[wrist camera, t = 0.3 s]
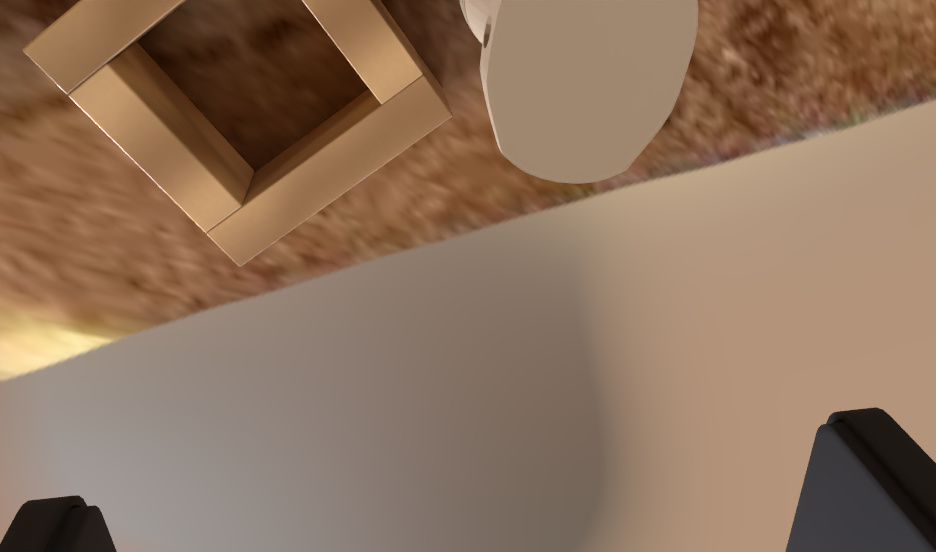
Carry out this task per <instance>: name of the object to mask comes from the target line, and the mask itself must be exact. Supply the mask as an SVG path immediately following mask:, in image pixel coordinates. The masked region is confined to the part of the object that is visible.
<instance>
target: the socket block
mask: <svg viewBox="0 0 936 552" xmlns="http://www.w3.org/2000/svg"><path fill="white" fill-rule="evenodd" d="M186 1H187V0H80V1H79V2H77V3H76V4H75V5H74V6H73V7H71V8H70V9H69V10H68V11H67V12H65V13H64V14H63V15H62V16H61V17H60V18H58V19H57V20H56V21H55V22H54V23H52V24H51V25H50V26H49V27H48V28H46V29H45V30H44V31H43V32H42V33H40V34H39V35H38V36H37V37H36V38H35V39H33V40H32V41H31V42H30V43H29V44H27V45H26V46H25V47H24V48H23V51H24V52H25V53H26V54H27V55H28V56H29V57H30V58H31V59H32V60H33V61H34V62H35V63H36V64H37V65H38V66H39V67H40V68H41V69H42V70H43V71H44V72H45V73H46V74H47V75H48V76H49V77H50V78H51V79H52V80H53V81H54V82H55V83H56V84H57V85H58V86H59V87H60V88H61V89H62V90H63V91H64V92H65V93H66V94H69V97H70V98H71V99H72V100H73V101H74V102H75V103H76V104H77V105H78V106H79V107H80V108H81V109H82V110H83V111H84V112H85V113H86V114H87V115H88V116H89V117H90V118H91V119H92V120H93V121H94V122H95V123H96V124H97V125H98V126H99V127H100V128H101V129H102V130H103V131H104V132H105V133H106V134H107V135H108V136H109V137H110V138H111V139H112V140H113V141H114V142H115V143H116V144H117V145H118V146H119V147H120V148H121V149H122V150H123V151H124V152H125V153H126V154H127V155H128V156H129V157H130V158H131V159H132V160H133V161H134V162H135V163H136V164H137V165H138V166H139V167H140V168H141V169H142V170H143V171H144V172H145V173H146V174H147V175H148V176H149V177H150V178H151V179H152V180H153V181H154V182H155V183H156V184H157V185H158V186H159V187H160V188H161V189H162V190H163V191H164V192H165V193H166V194H167V195H168V196H169V197H170V198H171V199H172V200H173V201H174V202H175V203H176V204H177V205H178V206H179V207H180V208H181V209H182V210H183V211H184V212H185V213H186V214H187V215H188V216H189V217H190V218H191V219H192V220H193V221H194V222H195V223H196V224H197V225H198V226H199V227H200V228H201V229H202V230H203V231H204V232H207V233H206V234H207V235H208V236H209V237H210V238H211V239H212V240H213V241H214V242H215V243H216V244H217V245H218V246H219V247H220V248H221V249H222V250H223V251H224V252H225V253H226V254H227V255H228V256H229V257H230V258H231V259H232V260H233V261H234V262H235V263H236V264H237V265H238V266H239V267H241V266H242V265H244V264H245V263H246V262H248V261H249V260H251V259H252V258H254V257H255V256H256V255H258V254H259V253H261V252H262V251H263V250H265V249H266V248H268V247H269V246H270V245H272V244H273V243H275V242H276V241H277V240H279V239H280V238H282V237H283V236H285V235H286V234H287V233H289V232H290V231H292V230H293V229H294V228H296V227H297V226H299V225H300V224H301V223H303V222H304V221H306V220H307V219H308V218H310V217H311V216H313V215H314V214H315V213H317V212H318V211H320V210H321V209H323V208H324V207H325V206H327V205H328V204H330V203H331V202H332V201H334V200H335V199H337V198H338V197H339V196H341V195H342V194H344V193H345V192H346V191H348V190H349V189H351V188H352V187H353V186H355V185H356V184H358V183H359V182H361V181H362V180H363V179H365V178H366V177H368V176H369V175H370V174H372V173H373V172H375V171H376V170H377V169H379V168H380V167H382V166H383V165H384V164H386V163H387V162H389V161H390V160H391V159H393V158H394V157H396V156H397V155H399V154H400V153H401V152H403V151H404V150H406V149H407V148H408V147H410V146H411V145H413V144H414V143H415V142H417V141H418V140H420V139H421V138H422V137H424V136H425V135H427V134H428V133H429V132H431V131H432V130H434V129H435V128H437V127H438V126H439V125H441V124H442V123H444V122H445V121H446V120H448V119H449V118H451V117H452V116H453V115H452V112H451V109H450V107H449V104H448V101H447V98H446V96H445V93H444V90H443V88H442V87H441V85H440V84H439V83H438V81H437V80H436V78H435V77H434V76H433V74H432V73H431V71H430V70H429V68H428V67H427V66H426V64H425V63H424V61H423V60H422V59H421V57H420V56H419V54H418V53H417V51H416V50H415V49H414V47H413V46H412V44H411V43H410V42H409V40H408V39H407V37H406V36H405V35H404V33H403V32H402V30H401V29H400V27H399V26H398V25H397V23H396V22H395V20H394V19H393V18H392V16H391V15H390V13H389V12H388V10H387V9H386V8H385V6H384V5H383V3H382V2H381V1H380V0H302V1H303V3H304V4H305V5H306V6H307V8H308V9H309V10H310V12H311V13H312V14H313V16H314V17H315V18H316V20H317V21H318V22H319V23H320V25H321V26H322V27H323V29H324V30H325V31H326V33H327V34H328V35H329V37H330V38H331V39H332V40H333V42H334V43H335V44H336V46H337V47H338V48H339V50H340V51H341V52H342V54H343V55H344V56H345V57H346V59H347V60H348V61H349V63H350V64H351V65H352V67H353V68H354V69H355V71H356V72H357V73H358V74H359V76H360V77H361V78H362V80H363V81H364V82H365V84H366V85H367V86H368V88H369V89H367V90H366V91H365V92H363V93H362V94H361V95H359V96H358V97H356V98H355V99H354V100H352V101H351V102H350V103H348V104H347V105H346V106H344V107H343V108H342V109H340V110H339V111H337V112H336V113H335V114H333V115H332V116H331V117H329V118H328V119H327V120H325V121H324V122H323V123H321V124H320V125H319V126H317V127H316V128H314V129H313V130H312V131H310V132H309V133H308V134H306V135H305V136H304V137H302V138H301V139H300V140H298V141H297V142H295V143H294V144H293V145H291V146H290V147H289V148H287V149H286V150H285V151H283V152H282V153H281V154H279V155H278V156H276V157H275V158H274V159H272V160H271V161H270V162H268V163H267V164H266V165H264V166H263V167H262V168H260V169H259V170H257V171H256V172H255V173H254V170H253V169H252V168H251V167H250V166H249V164H248V163H247V162H246V161H245V160H244V159H243V158H242V157H241V156H240V155H239V153H238V152H237V151H236V150H235V149H234V148H233V147H232V146H231V145H230V144H229V143H228V141H227V140H226V139H225V138H224V137H223V136H222V135H221V134H220V133H219V132H218V130H217V129H216V128H215V127H214V126H213V125H212V124H211V123H210V122H209V121H208V119H207V118H206V117H205V116H204V115H203V114H202V113H201V112H200V111H199V110H198V108H197V107H196V106H195V105H194V104H193V103H192V102H191V101H190V100H189V99H188V98H187V96H186V95H185V94H184V93H183V92H182V91H181V90H180V89H179V88H178V87H177V85H176V84H175V83H174V82H173V81H172V80H171V79H170V78H169V77H168V76H167V74H166V73H165V72H164V71H163V70H162V69H161V68H160V67H159V66H158V65H157V64H156V62H155V61H154V60H153V59H152V58H151V57H150V56H149V55H148V54H147V53H146V51H145V50H144V49H143V48H142V47H141V46H140V45H139V44H138V43H137V42H136V41H138V40H139V39H140V38H141V37H142V36H144V35H145V34H146V33H147V32H149V31H150V30H151V29H152V28H154V27H155V26H156V25H157V24H159V23H160V22H161V21H162V20H163V19H165V18H166V17H167V16H168V15H170V14H171V13H172V12H173V11H175V10H176V9H177V8H178V7H179V6H181V5H182V4H183V3H184V2H186ZM135 42H136V43H135Z"/></svg>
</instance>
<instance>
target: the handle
mask: <svg viewBox="0 0 936 552" xmlns="http://www.w3.org/2000/svg"><path fill="white" fill-rule="evenodd" d="M459 1H460V6H461V9H462V12H463V14H464V17H465V20H466V22H467V23H468V25H469V27H470V29H471V30H472V32H473V33H474V35H475V36H476V37H477V39H478V40H479V41H480V42H481V43H482V52H481V63H480V73H481V79H482V84H483V90H484V95H485V99H486V103H487V108H488V112H489V116H490V119H491V123H492V127H493V130H494V134H495V137H496V141H497V144H498V146H499V148H500V150H501V152H502V154H503V155H504V156H505V157H506V158H507V159H508V160H509V161H510V162H512V163H513V164H514V165H516V166H517V167H518V168H520V169H521V170H523V171H524V172H526V173H529V174H531V175H534V176H536V177H539V178H541V179H546V180H550V181H555V182H560V183H578V184H579V183H589V182H597V181H601V180H604V179H607V178H610V177H613V176H615V175H617V174H620V173H622V172H624V171H626V170H627V168H628V167H629V166H630V165H631V164H632V162H633V161H634V160H635V159H636V158H637V157H638V155H639V154H640V153H641V152H642V151H643V149H644V148H645V147H646V146H647V145H648V143H649V142H650V141H651V140H652V138H653V137H654V136H655V135H656V133H657V132H658V131H659V130H660V128H661V127H662V125H663V124H664V122H665V121H666V119H667V118H668V116H669V115H670V113H671V112H672V110H673V107H674V105H675V102H676V100H677V98H678V95H679V93H680V90H681V87H682V84H683V80H684V77H685V74H686V71H687V68H688V65H689V61H690V58H691V55H692V52H693V48H694V43H695V39H696V34H697V30H698V0H459Z"/></svg>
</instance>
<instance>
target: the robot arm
mask: <svg viewBox="0 0 936 552" xmlns="http://www.w3.org/2000/svg"><path fill="white" fill-rule="evenodd" d="M0 552H116V549H115V546H114V544H113V541H112V538H111V536H110V533H109V531H108V528H107V526H106V523H105V520H104V518H103V515H102V513H101V511H100V509H99V508H98V507H97V506H87V505H86V503H85V501H84V499H83V498H81V497H80V496H68V497H58V498H49V499H40V500H31V501H27V502H26V503H25V504H23V505H22V506H21V508H20V509H19V511H18V512H17V514H16V516H15V518H14V520H13V521H12V523H11V525H10V527H9V529H8V531H7V532H6V534H5V536H4V538H3V540H2V542H1V544H0ZM786 552H936V463H935V462H934V461H933V460H932V459H931V458H930V457H929V456H928V455H927V454H926V453H925V452H924V451H923V450H922V449H921V447H920V446H919V445H918V444H917V443H916V442H915V441H914V440H913V439H912V438H911V437H910V436H909V435H908V434H907V433H906V432H905V431H904V430H903V429H902V428H901V427H900V426H899V425H898V424H897V423H896V422H895V421H894V420H893V418H892V417H891V416H890V415H888V414H887V413H886V412H885V411H884V410H882V409H879V408H867V409H858V410H849V411H840V412H834V413H833V414H831V415H830V416H829V418H828V421H827V423H826V424H823V425H821V426H820V427H819V428H818V430H817V433H816V437H815V441H814V445H813V448H812V452H811V456H810V460H809V464H808V467H807V471H806V475H805V479H804V483H803V487H802V491H801V494H800V498H799V502H798V506H797V510H796V514H795V518H794V521H793V525H792V529H791V533H790V537H789V541H788V544H787V548H786Z"/></svg>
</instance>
